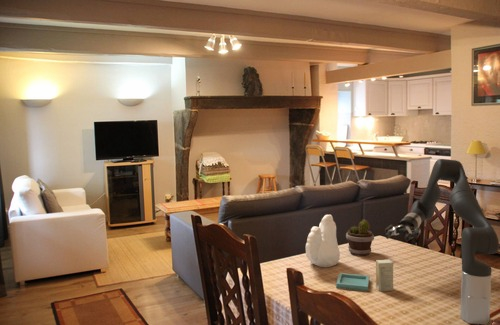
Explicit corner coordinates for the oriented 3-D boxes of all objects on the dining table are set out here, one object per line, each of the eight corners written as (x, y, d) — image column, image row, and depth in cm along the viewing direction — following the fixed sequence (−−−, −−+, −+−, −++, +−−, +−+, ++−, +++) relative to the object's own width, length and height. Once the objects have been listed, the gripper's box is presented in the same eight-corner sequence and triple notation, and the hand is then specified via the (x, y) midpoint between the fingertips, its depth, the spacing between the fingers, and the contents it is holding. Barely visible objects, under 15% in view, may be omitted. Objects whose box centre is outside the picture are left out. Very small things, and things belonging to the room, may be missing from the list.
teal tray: (367, 291, 176) (367, 286, 176) (336, 288, 180) (336, 283, 180) (369, 280, 188) (369, 275, 188) (339, 277, 192) (339, 272, 192)
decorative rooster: (322, 256, 222) (322, 210, 219) (347, 264, 210) (347, 215, 207) (289, 267, 206) (289, 217, 203) (314, 276, 194) (314, 223, 191)
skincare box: (389, 286, 181) (390, 259, 179) (393, 290, 176) (394, 262, 175) (374, 287, 180) (375, 259, 179) (378, 291, 176) (378, 262, 175)
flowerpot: (340, 250, 231) (340, 214, 229) (364, 247, 236) (365, 212, 234) (354, 258, 218) (354, 220, 216) (379, 255, 222) (380, 218, 220)
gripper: (394, 214, 199) (379, 228, 187) (425, 217, 189) (411, 232, 178) (396, 229, 200) (381, 243, 189) (426, 232, 191) (413, 248, 179)
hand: (396, 238), depth 183 cm, fingers open, 8 cm apart
